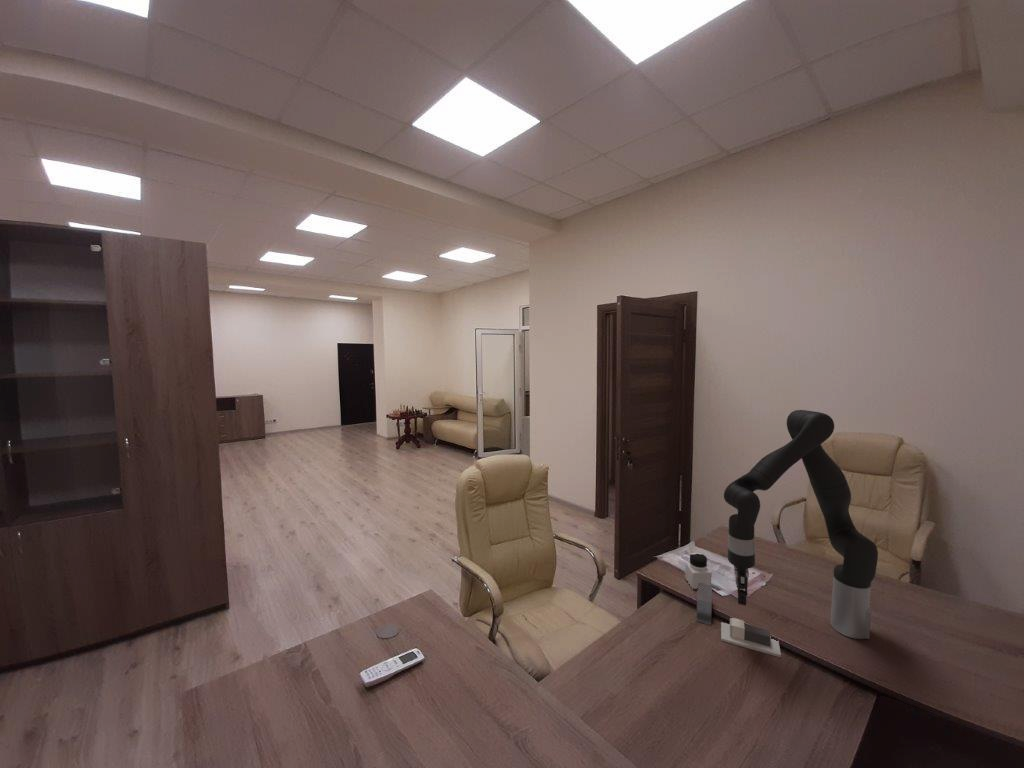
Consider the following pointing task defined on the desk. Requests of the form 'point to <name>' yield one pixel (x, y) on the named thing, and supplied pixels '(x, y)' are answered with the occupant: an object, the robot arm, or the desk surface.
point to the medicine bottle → (697, 570)
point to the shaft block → (704, 603)
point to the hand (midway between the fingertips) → (741, 595)
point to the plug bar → (749, 632)
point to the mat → (749, 642)
